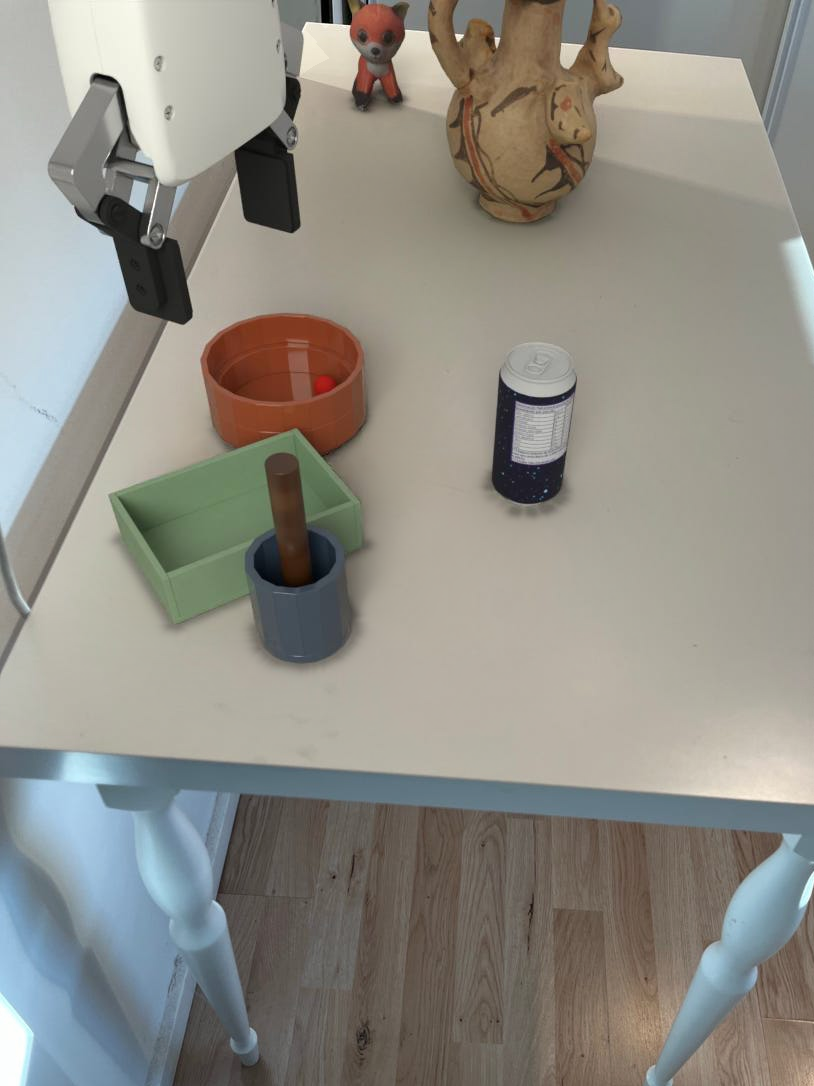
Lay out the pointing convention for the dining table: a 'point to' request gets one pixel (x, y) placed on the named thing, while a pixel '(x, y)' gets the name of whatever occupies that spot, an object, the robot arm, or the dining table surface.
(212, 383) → the bowl
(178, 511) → the tray
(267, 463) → the stick
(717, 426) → the dining table surface
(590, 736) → the dining table surface
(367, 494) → the dining table surface
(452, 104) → the ceramic vessel
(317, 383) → the berry
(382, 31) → the stuffed fox
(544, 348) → the beverage can
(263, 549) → the holder
